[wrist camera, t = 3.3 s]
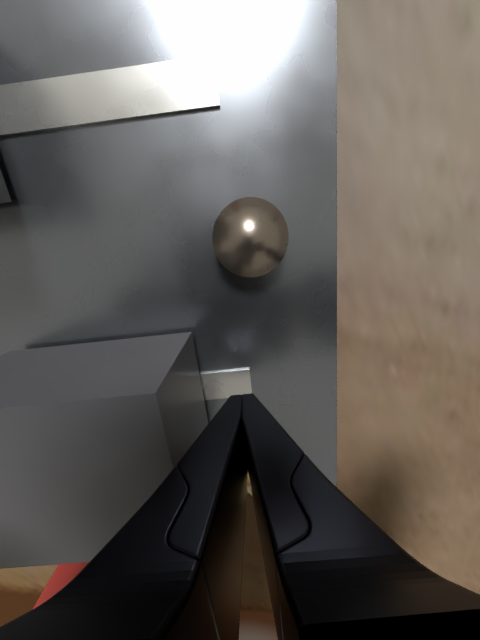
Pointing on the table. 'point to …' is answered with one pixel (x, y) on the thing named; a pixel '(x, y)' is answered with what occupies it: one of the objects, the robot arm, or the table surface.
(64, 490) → the block
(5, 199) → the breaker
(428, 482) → the table surface
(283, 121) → the breaker panel
